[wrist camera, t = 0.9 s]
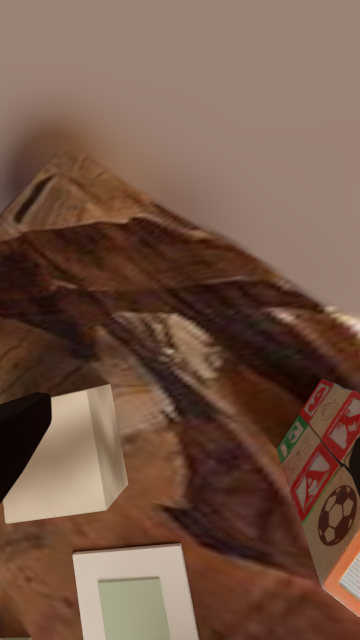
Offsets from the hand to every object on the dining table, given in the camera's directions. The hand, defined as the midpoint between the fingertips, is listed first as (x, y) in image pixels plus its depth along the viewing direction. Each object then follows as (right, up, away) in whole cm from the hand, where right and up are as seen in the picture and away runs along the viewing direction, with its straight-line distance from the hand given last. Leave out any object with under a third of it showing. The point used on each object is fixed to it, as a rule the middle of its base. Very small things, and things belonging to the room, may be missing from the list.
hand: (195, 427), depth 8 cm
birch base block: (-9, -7, +15) cm, 19 cm away
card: (-4, -19, +13) cm, 23 cm away
